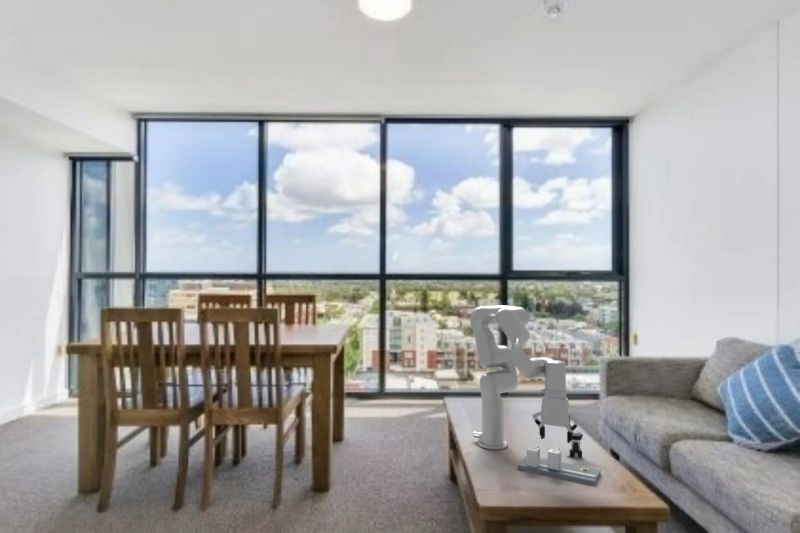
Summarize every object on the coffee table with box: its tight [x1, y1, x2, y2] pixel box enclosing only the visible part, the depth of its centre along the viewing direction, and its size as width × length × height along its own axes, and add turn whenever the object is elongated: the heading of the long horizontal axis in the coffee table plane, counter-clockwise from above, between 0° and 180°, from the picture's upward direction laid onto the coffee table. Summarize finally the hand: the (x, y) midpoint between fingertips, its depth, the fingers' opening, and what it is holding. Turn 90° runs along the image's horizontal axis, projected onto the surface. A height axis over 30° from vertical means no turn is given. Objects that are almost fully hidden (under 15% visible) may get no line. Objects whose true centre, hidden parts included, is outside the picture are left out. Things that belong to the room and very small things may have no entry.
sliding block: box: [547, 446, 562, 470], centre depth 195 cm, size 4×7×6 cm, turn 149°
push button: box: [564, 430, 584, 459], centre depth 211 cm, size 7×5×10 cm
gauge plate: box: [517, 444, 602, 486], centre depth 195 cm, size 28×12×8 cm, turn 59°
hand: (555, 440), depth 193 cm, fingers open, 9 cm apart
